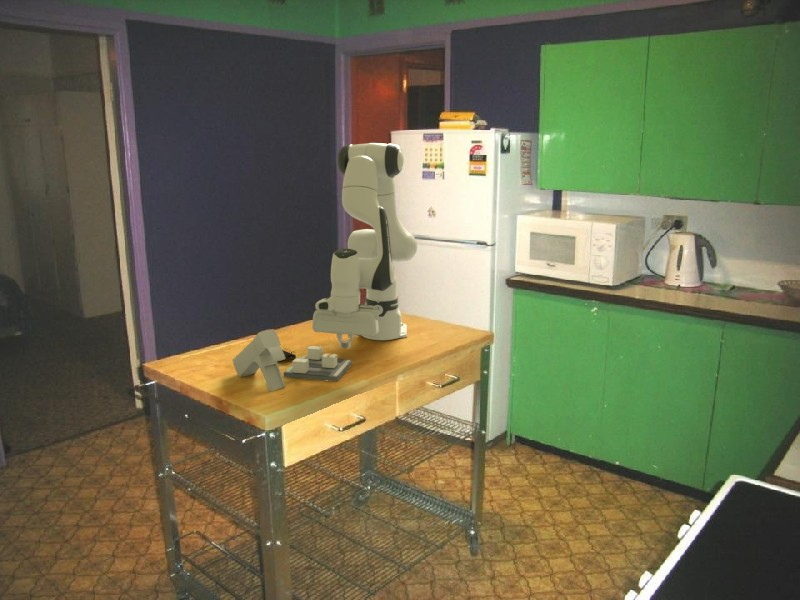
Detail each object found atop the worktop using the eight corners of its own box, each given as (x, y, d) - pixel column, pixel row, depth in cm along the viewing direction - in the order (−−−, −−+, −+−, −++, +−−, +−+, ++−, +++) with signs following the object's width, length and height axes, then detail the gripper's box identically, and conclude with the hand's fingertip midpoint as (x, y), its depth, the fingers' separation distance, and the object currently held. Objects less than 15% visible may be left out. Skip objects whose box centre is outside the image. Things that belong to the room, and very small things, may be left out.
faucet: (249, 355, 207) (275, 326, 193) (268, 402, 203) (297, 376, 189) (231, 359, 203) (257, 330, 189) (250, 407, 198) (278, 381, 185)
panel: (302, 360, 218) (302, 355, 217) (352, 364, 214) (352, 359, 214) (283, 377, 202) (283, 372, 201) (337, 381, 198) (336, 376, 198)
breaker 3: (325, 364, 209) (324, 352, 208) (337, 365, 208) (337, 353, 207) (321, 367, 206) (321, 355, 205) (334, 368, 205) (334, 356, 204)
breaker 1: (296, 369, 204) (296, 358, 203) (308, 370, 203) (308, 359, 202) (292, 372, 201) (292, 361, 200) (305, 373, 200) (305, 362, 199)
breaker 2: (310, 356, 216) (310, 345, 215) (322, 357, 215) (322, 346, 215) (307, 358, 213) (307, 348, 213) (319, 359, 213) (319, 349, 212)
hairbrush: (273, 335, 237) (300, 350, 216) (273, 345, 237) (301, 361, 216) (250, 338, 232) (276, 354, 211) (251, 348, 233) (277, 365, 212)
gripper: (381, 303, 202) (380, 347, 205) (317, 299, 206) (317, 342, 209) (376, 308, 196) (375, 353, 199) (310, 303, 200) (310, 347, 203)
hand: (345, 347), depth 204 cm, fingers closed
